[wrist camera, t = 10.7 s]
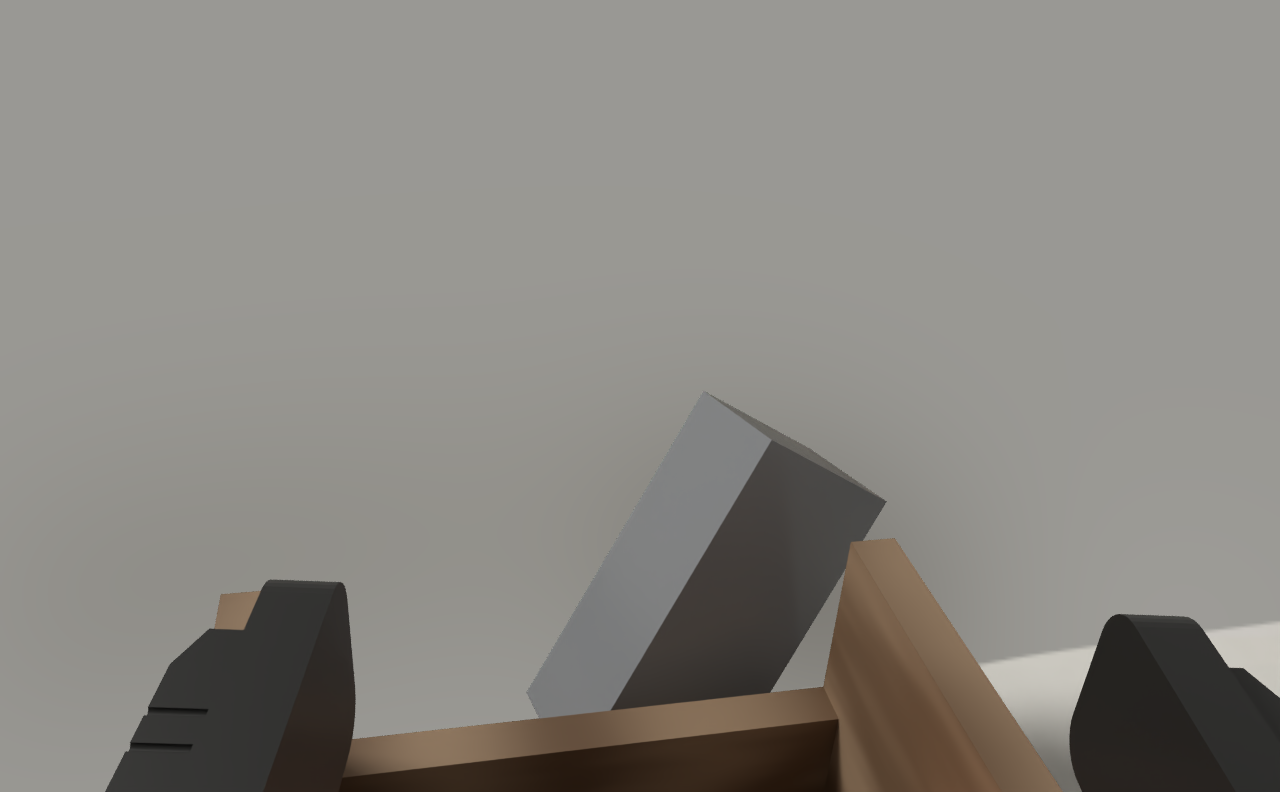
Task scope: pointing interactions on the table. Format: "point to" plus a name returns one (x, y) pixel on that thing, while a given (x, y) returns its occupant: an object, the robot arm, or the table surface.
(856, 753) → the walnut frame
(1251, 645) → the table surface
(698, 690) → the basalt block
